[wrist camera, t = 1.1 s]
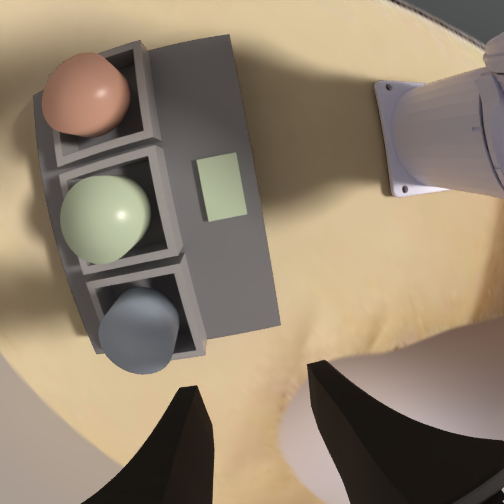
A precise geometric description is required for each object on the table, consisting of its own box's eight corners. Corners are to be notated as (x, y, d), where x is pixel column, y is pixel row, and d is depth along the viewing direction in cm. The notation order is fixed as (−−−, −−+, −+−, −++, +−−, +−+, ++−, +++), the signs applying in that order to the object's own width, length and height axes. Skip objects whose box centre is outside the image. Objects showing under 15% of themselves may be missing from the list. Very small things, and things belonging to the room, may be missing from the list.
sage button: (142, 166, 13) (127, 165, 11) (158, 241, 14) (147, 255, 12) (76, 185, 13) (52, 189, 10) (93, 256, 14) (73, 271, 11)
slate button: (168, 280, 14) (160, 300, 12) (187, 343, 15) (183, 369, 13) (104, 292, 14) (87, 312, 12) (126, 351, 15) (115, 377, 13)
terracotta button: (127, 59, 11) (111, 41, 9) (135, 125, 12) (119, 117, 10) (63, 82, 11) (40, 71, 9) (69, 147, 12) (45, 144, 10)
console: (228, 50, 16) (230, 18, 11) (274, 307, 20) (287, 342, 16) (52, 101, 15) (15, 89, 11) (107, 335, 20) (86, 371, 15)
